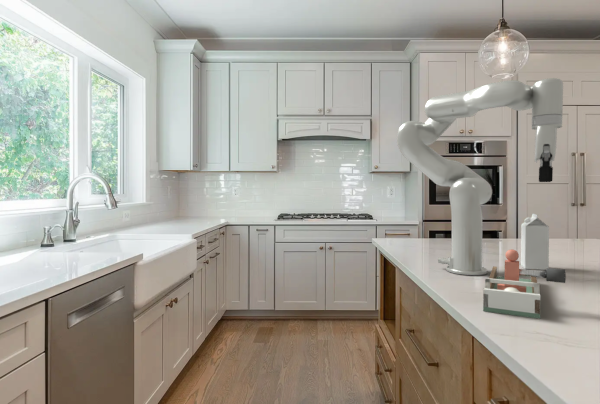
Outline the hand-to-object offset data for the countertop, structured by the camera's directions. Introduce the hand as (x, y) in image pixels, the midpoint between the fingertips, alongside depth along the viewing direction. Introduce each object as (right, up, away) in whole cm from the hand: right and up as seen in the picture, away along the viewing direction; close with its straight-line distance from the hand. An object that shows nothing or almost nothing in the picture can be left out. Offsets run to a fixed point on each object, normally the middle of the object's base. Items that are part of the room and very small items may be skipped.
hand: (545, 181), depth 113 cm
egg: (-23, -28, -24) cm, 43 cm away
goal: (-24, -30, -26) cm, 46 cm away
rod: (-18, -29, -23) cm, 41 cm away
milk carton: (+11, -29, +23) cm, 39 cm away
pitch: (-17, -30, -13) cm, 37 cm away
